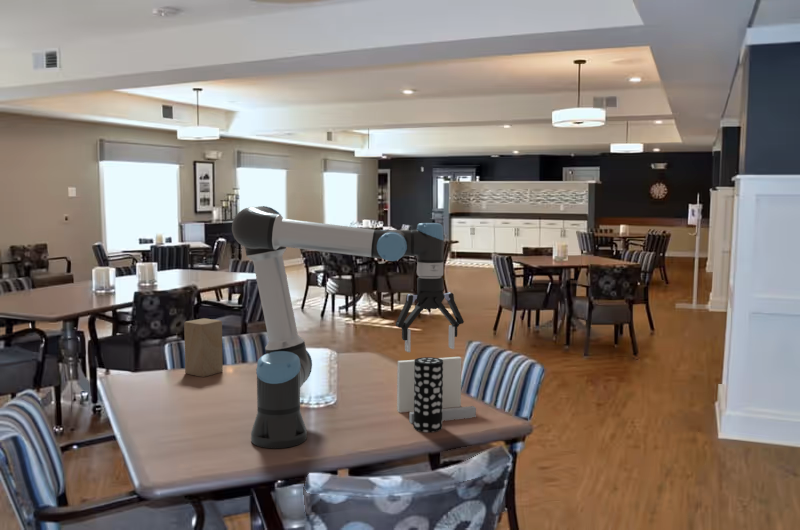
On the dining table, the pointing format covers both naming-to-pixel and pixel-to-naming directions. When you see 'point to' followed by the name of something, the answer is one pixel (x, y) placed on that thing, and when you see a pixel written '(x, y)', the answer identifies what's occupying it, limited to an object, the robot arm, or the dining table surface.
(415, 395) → the white-spotted black cylinder
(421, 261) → the robot arm
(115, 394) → the dining table surface
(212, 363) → the wooden block
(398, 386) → the cleat board
